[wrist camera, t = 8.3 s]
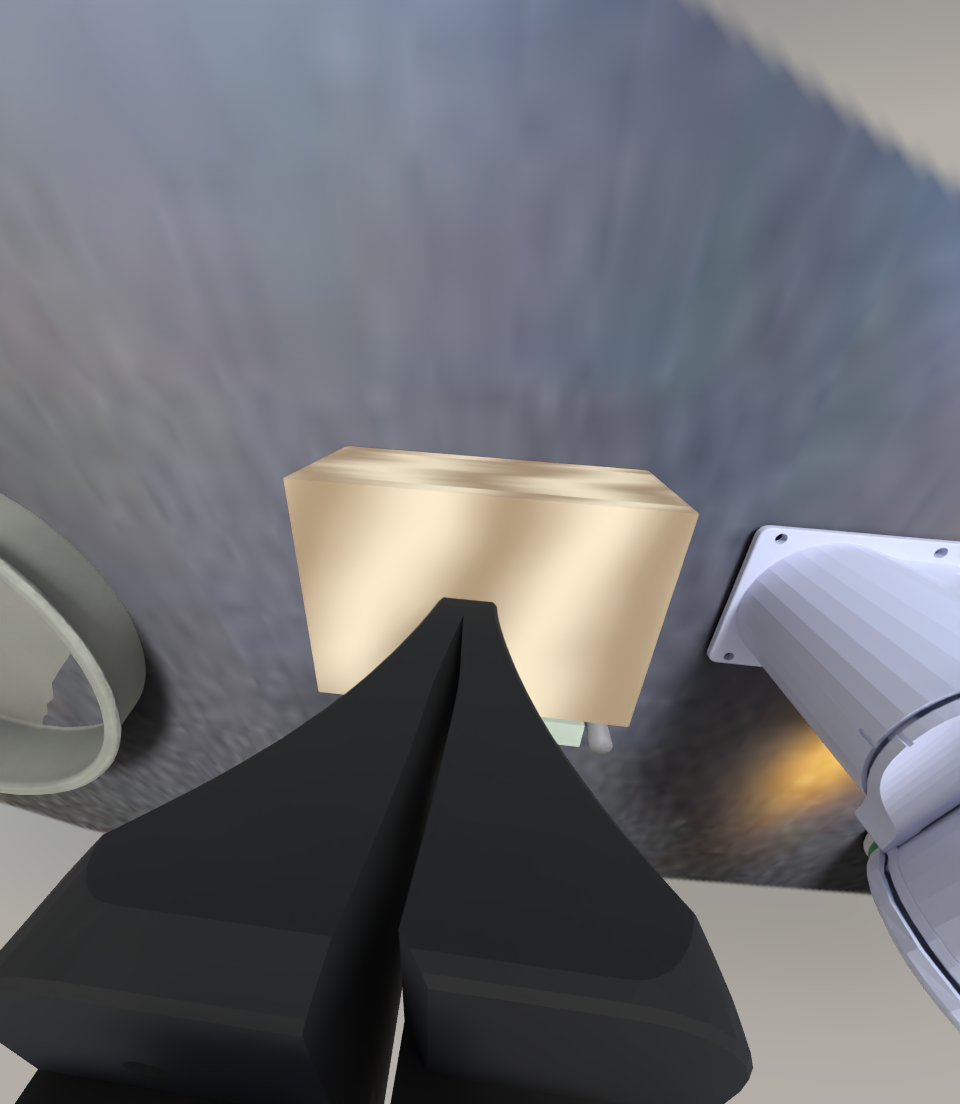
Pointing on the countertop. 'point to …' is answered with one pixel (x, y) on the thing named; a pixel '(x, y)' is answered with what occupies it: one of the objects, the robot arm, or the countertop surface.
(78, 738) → the cake pan
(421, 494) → the cabinet
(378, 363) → the countertop surface
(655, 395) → the countertop surface
